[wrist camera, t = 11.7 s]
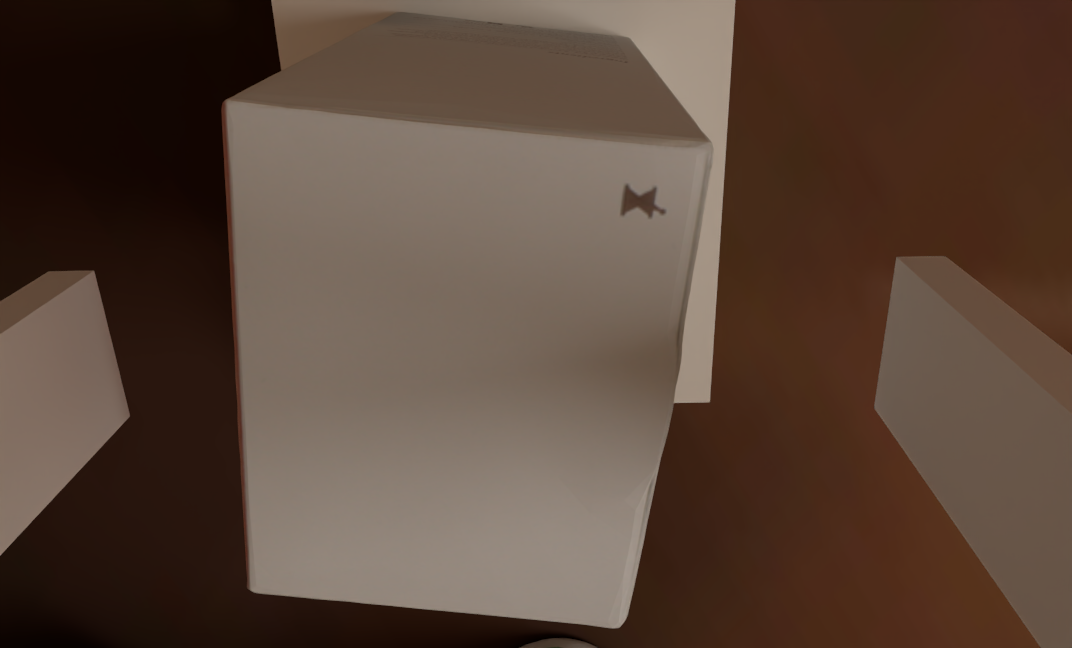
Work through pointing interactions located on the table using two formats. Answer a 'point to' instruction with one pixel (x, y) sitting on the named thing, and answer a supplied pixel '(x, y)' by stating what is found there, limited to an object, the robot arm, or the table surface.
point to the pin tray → (603, 8)
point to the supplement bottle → (558, 643)
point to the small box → (459, 315)
